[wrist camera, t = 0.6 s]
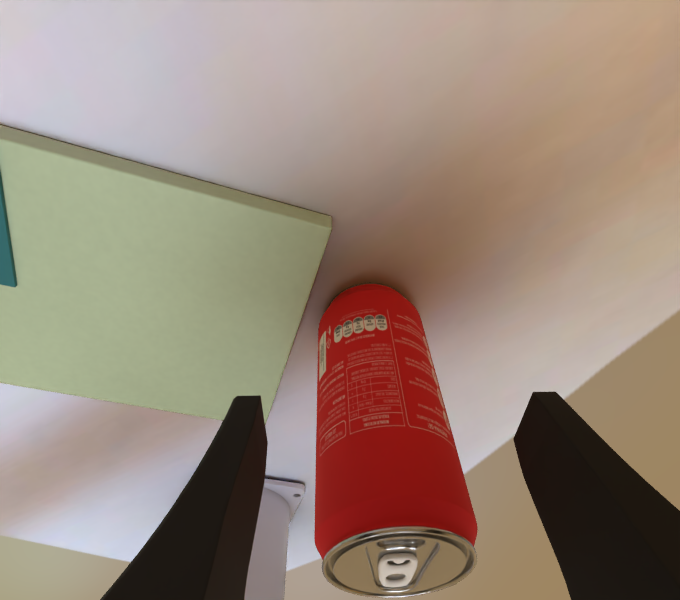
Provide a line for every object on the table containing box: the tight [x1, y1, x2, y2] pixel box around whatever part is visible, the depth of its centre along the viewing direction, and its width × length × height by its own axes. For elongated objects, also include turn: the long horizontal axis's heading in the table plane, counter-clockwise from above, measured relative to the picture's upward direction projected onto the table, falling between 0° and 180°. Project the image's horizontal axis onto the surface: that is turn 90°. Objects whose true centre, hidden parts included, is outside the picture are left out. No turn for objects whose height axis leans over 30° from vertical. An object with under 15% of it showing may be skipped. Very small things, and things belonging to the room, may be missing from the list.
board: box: [0, 125, 332, 424], centre depth 21 cm, size 14×20×1 cm
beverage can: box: [315, 283, 477, 598], centre depth 18 cm, size 5×5×12 cm
